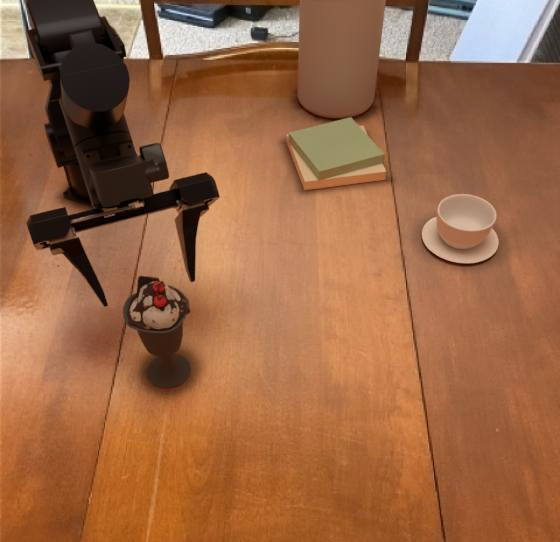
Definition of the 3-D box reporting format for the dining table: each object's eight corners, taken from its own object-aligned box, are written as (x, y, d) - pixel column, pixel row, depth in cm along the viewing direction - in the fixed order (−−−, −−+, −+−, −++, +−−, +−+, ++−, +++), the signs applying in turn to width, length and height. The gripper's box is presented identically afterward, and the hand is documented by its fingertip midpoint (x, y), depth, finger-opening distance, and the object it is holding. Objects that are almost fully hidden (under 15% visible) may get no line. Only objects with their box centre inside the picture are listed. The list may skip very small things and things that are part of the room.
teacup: (490, 273, 86) (500, 245, 82) (413, 255, 88) (419, 226, 84) (503, 225, 92) (512, 197, 88) (430, 209, 94) (436, 180, 90)
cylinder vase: (365, 126, 106) (384, -51, 87) (288, 113, 108) (290, -62, 89) (380, 86, 114) (401, -85, 94) (308, 75, 116) (314, -95, 96)
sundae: (190, 399, 74) (173, 302, 62) (131, 389, 74) (103, 291, 63) (206, 353, 78) (193, 254, 66) (150, 344, 78) (127, 244, 67)
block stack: (303, 191, 96) (304, 173, 94) (285, 142, 104) (285, 124, 101) (386, 180, 98) (389, 162, 95) (362, 133, 105) (364, 115, 103)
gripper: (-4, 142, 58) (56, 319, 60) (205, 96, 62) (253, 263, 64) (10, 170, 68) (60, 320, 70) (187, 130, 73) (229, 271, 75)
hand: (150, 293), depth 70 cm, fingers open, 9 cm apart
